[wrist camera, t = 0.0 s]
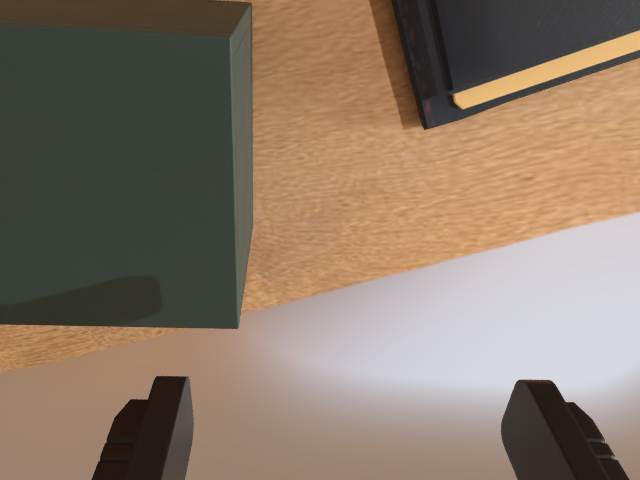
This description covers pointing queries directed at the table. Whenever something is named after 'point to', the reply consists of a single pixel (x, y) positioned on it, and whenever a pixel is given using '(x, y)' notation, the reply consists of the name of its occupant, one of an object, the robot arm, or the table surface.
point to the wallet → (507, 49)
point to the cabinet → (125, 162)
